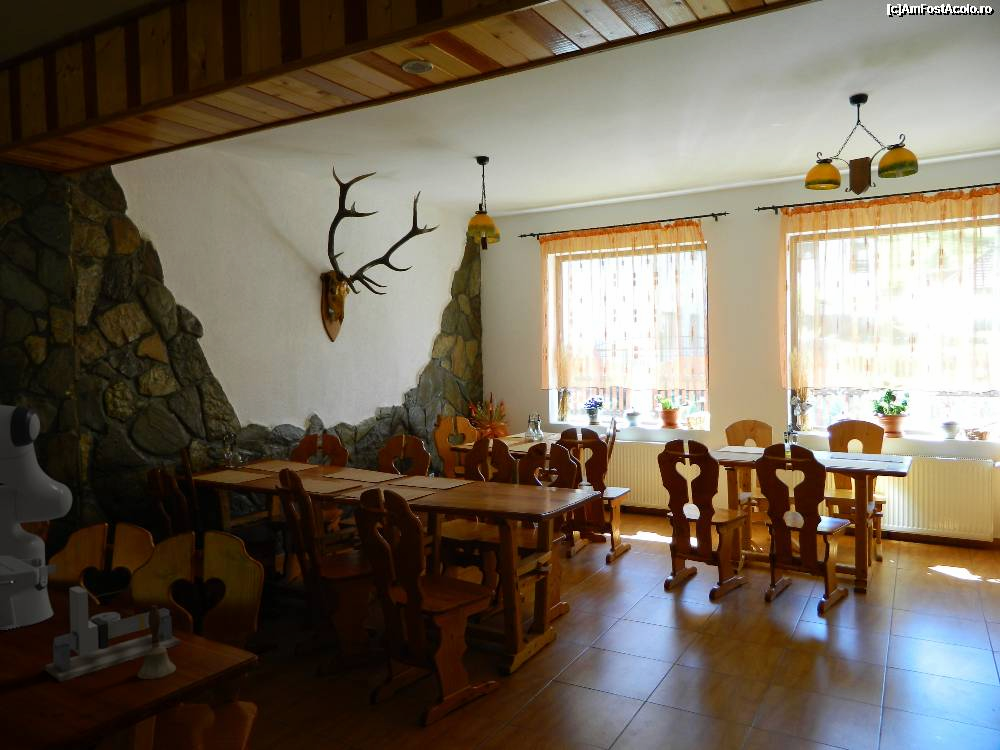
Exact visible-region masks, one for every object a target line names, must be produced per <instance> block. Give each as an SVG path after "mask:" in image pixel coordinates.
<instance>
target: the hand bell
mask: <svg viewBox="0 0 1000 750" xmlns="http://www.w3.org/2000/svg"><path fill="white" fill-rule="evenodd" d="M149 612H150V613H149V618H148V619H149V626H150V627H149V629H150V632H151V634H152V647H151V648H150V649H148V650H147V651H146V655H145V656H144V662H143V664H142V667H141V669H139V670H138V672H137V678H138V679H140V680H145V679H151V680H157V678H158V679H162V678H164V677H168V676H169V674H170V675H171V674H173V673H174V672H176V669H177V667H176V664H174V663H173V662H172V661H171V660H170V658H169V655H168V651H167V649H166V648H165V647H164V646H160V640H159V627H160V620H161V619H160V613H159V610H158V606H157V604H153V605H151V606H150V609H149ZM167 675H168V676H167Z"/></svg>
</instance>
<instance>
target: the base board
mask: <svg viewBox="0 0 1000 750" xmlns="http://www.w3.org/2000/svg"><path fill="white" fill-rule="evenodd" d="M159 640H160V646H164V647H165V648H168V649H170V647H171V648H173V646H174V647H176V646H175V645H177V646H179V645H178V644H180V645H181V639H179V638H177V637H175V636H173V635H172V639H170V640H166V641H163V640H161V639H160V638H159ZM151 647H152V633H151V634H147V635H145V636H140V637H136V638H134V639H129V640H127V641H123V642H120V643H116V644H114V645H110V646H109V645H108V648H105V649H100V648H98V651H95V652H91V653H88V654H84V655H81V656H80V655H79V654H77V655H76V656H72V657H70V665H71V670H67V671H64V672H60V671H59V670H58V669H56V668H55V667H54V662H52V663H49V664H45V671H46V672H48V673H49V674H50V675H51V676H52V677H54V678H55V679H56V680H57V681H58V682H60V683H61V682H65V681H68V680H72V679H74V677H75V678H77V676H78V677H80V675H81V676H84V675H87V674H90V672H91V673H94V672H97V671H99V670H103V668H104V669H106V668H110V667H113V666H115V665H119V664H122V663H125V661H126V662H129V661H132V660H135V658H136V659H139V658H142V657H145V656H146V651H147V650H148V649H150V648H151ZM141 656H142V657H141ZM138 657H139V658H138ZM128 660H129V661H128ZM93 671H94V672H93ZM86 673H87V674H86ZM83 674H84V675H83Z"/></svg>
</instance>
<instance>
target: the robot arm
mask: <svg viewBox="0 0 1000 750" xmlns="http://www.w3.org/2000/svg"><path fill="white" fill-rule="evenodd" d="M40 422H41V421H40V418H39V414H38V413H37V411H35V410H34V409H33V408H31V407H28V406H22V405H19V406H13V405H3V404H0V484H1V485H0V630H7V631H9V630H8V629H11V630H13V629H12V628H14V629H17V628H21V626H22V627H25V626H31V625H34V624H37V623H40V622H44V621H45V620H47V619H49V618H51V617H52V616H53V615H54V611H53V609H52V605H51V602H50V598H49V593H48V580H49V579H48V578H49V577H48V575H52V574H55V573H56V572H57V566H56V565H55V564H47V565H46V554H45V553H46V550H45V549H46V548H45V546H46V545H45V542H44V540H43V539H42V538H41V537H39V536H38V535H36V534H33V533H31V532H28V531H26V530H25V529H24V528H23V527H22V526H21V524H22V523H24V524H25V523H33V522H47V521H50V520H51V521H52V520H55V519H59V518H62V517H65V516H66V515H67V514H68V512H70V510H71V507H72V504H73V493H72V491H71V489H70V488H69V487H68V486H67V485H65V484H63V483H61V482H58V481H57V480H55V479H53V478H51V477H50V476H49V475H48V474H46V473H45V471H43V469H42V467H40V465H39V463H38V460H37V459H38V458H37V455H36V452H35V451H36V450H35V446H34V442H35V441H36V440H37V438H38V436H39V433H40V431H41V430H40V429H41V423H40ZM16 627H17V628H16Z"/></svg>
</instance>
